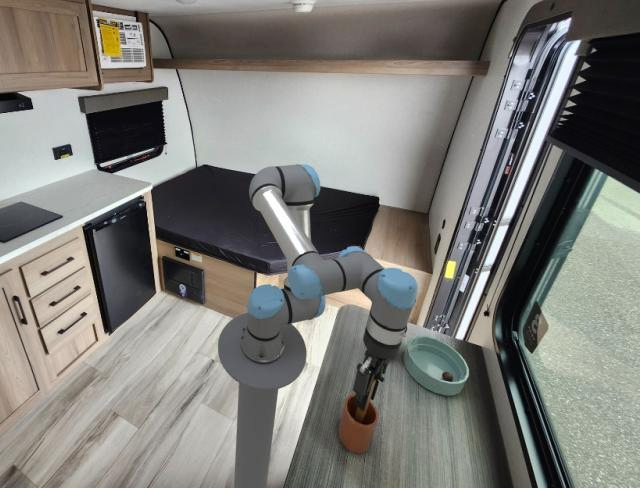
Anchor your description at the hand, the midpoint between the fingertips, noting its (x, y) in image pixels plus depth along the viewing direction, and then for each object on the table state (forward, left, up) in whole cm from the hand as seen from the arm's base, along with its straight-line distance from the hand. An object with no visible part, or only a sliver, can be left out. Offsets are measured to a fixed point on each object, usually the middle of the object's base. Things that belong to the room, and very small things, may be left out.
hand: (363, 400), depth 78 cm
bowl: (+5, +38, -15) cm, 41 cm away
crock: (0, 0, -15) cm, 15 cm away
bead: (+9, +37, -13) cm, 41 cm away
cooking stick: (0, 0, -14) cm, 14 cm away
